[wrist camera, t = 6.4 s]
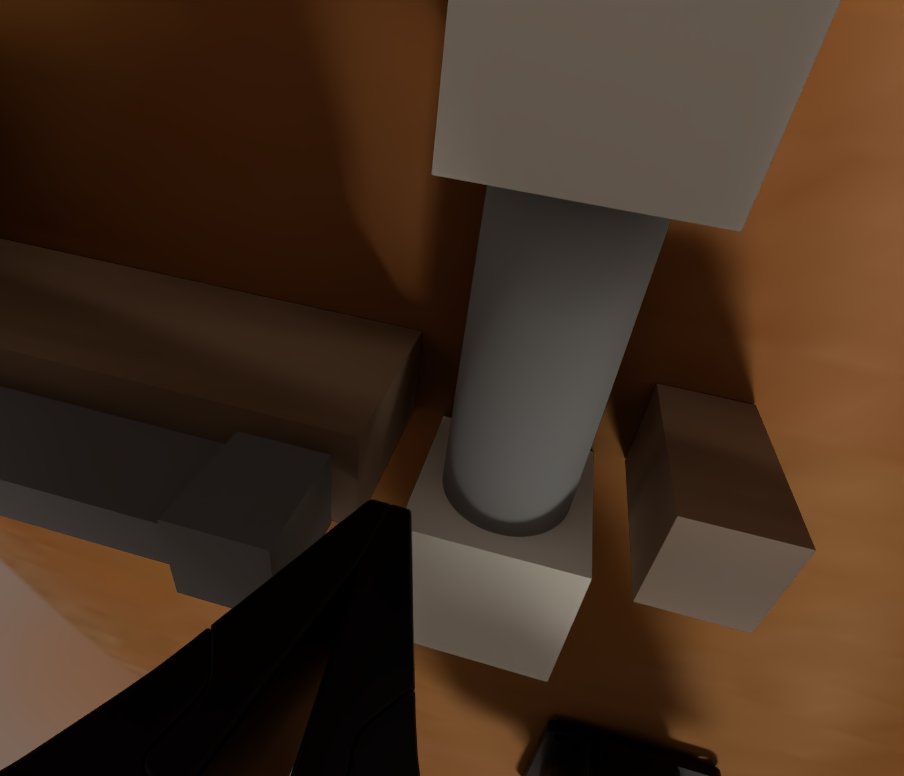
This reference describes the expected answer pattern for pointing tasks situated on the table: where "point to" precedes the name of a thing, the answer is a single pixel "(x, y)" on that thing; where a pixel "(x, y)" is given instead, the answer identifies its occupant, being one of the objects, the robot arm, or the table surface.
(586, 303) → the square-ended dumbbell
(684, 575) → the dark brown block
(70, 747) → the robot arm
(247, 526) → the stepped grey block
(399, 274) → the table surface
